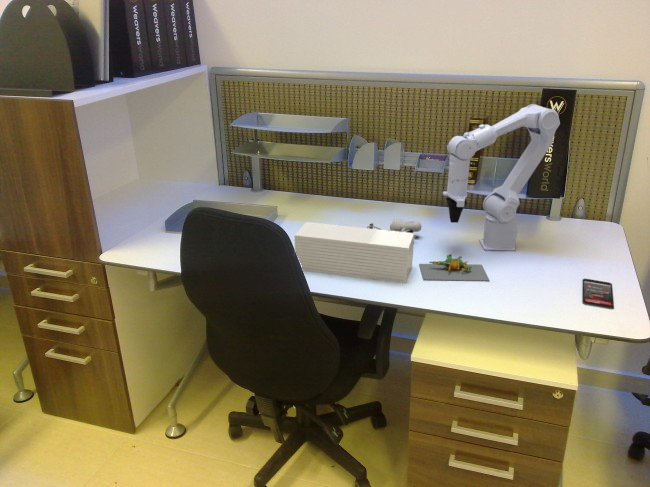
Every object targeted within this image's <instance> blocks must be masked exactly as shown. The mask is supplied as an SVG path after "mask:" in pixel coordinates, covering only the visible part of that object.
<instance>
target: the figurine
mask: <svg viewBox="0 0 650 487" xmlns="http://www.w3.org/2000/svg"><path fill="white" fill-rule="evenodd" d="M452 256H453V255H452V253H449V255H448V254H447V256H446V259H445V260H443V261H441V260H438V261H435V260H434V261H429V263H428V264H437V265H444V266H446V267H443V268H447V269H448V272H450V271H451V269H456V270H458V269H460V268H462V269H461V270H462V271H464V270H468V271H469V270H470V269H471V268H472V266H468V267H467V264H468V263H469V261H463V260H462V258H463V257H462V255H461V256H460V255H459V256H458V257H457V258H454V257H452Z"/></svg>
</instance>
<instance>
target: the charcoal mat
mask: <svg viewBox="0 0 650 487" xmlns="http://www.w3.org/2000/svg"><path fill="white" fill-rule="evenodd" d="M466 264H467V267H468V266H472V268H471V269H470V270H469V271H468V270H464V271H462V270H461V269H462V268H460V269H458V270H456V269H451V271H450V272H448V269H447V268H443V267H446V266H444V265H437V264H433V263H419V269H420V273H421V276H422V280H423V281H433V282H434V281H437V282H438V281H441V282H442V281H443V282H444V281H445V282H446V281H448V282H449V281H450V282H451V281H452V282H490V280H491V279H490V278H489V276H488V274H487V272H486V271H485V268H484V266H483V264H476V263H475V264H474V263H473V264H470V263H469V264H468V263H466Z"/></svg>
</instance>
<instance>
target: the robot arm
mask: <svg viewBox="0 0 650 487" xmlns="http://www.w3.org/2000/svg"><path fill="white" fill-rule="evenodd" d="M559 117H560V116H559V113H558V112H557V110H555V109H552V108H548V107H543V106H542V105H538V104H536V103H531V104H528V105H527V106H524V107H522V108H520V110H518V111H517V112H515V113H513V114H511V115H510V116H508V117H506V118H503V119H502V120H501V121H499V122H497V123H495V124H493V125H489V124H479V125H478V128H476V129H473V130H471V131H469V132H467V131H466V132H464V133H463V136H462V135H456V136H453V137H452V138H451V139H450V140H449V143H448V144H447V145H446V149H447V152H448V153H449V162H448V163H449V164H448V176H447V186H446V187H447V188H446V191H445V190H444V191H442V195H443V196H445V202H446V203H447V207H448V213H449V220H450V223H457V224H458V223H459V221H460V218H461V214H462V212H463V210H464V209H465V207H466V206H467V200H466V199H467V197H468V184H469V177H470V176H469V172H470V163H471V159H472V157H474V155H475V154H476V152H477V151H479V150H482V149H484V148H486V147H489V146H490V145H493V144H494V143H495V142H496V140H497V138H498V137H500V136H502V135H505V134H507V133H509V132H512V131H515V130H517V129H519V128H522V127H523V128H526V129H527V130H528V132H529V135H530V139H531V140H530V142H529V143H528V145H527V146H526V148H525V150H524V151H523V152H522V154H521V156H520V158H519V159H518V160H517V161H516V163H515V165H514V167H513V168H512V170H511V171H510V173H509V174H508V176H507V177H506V179H505V181H504V182H503V184H502V185H500V186H498V187H496V188H494V189H493V191H492V192H491V193H490V194H489V195H486V197H485V198H484V200H483V202H482V208H483V211H484V212H485V221H484V222H485V223H484V228H483V229H484V230H483V238H479V242H480V244H481V246H482V248H483V250H484V251H516V243H517V235H518V223H517V222H518V221H517V219H516V218H515V216H516V213H517V210H518V208H519V206H520V204H521V203H520V199H519V194H520V193H521V192H522V190H523V189H524V187H525V186H526V184H527V182H528V181H529V180H530V178H531V176H532V175H533V173H534V172H535V170H536V169H537V167H538V166H539V164H540V163H541V161H542V160H543V158H544V156H546V153H547V152H548V151H549V149H550V147H551V146H552V145H553V141H554V138H555V134H556V131H557V129H558V128H559V126H560V125H561V122H560V118H559Z"/></svg>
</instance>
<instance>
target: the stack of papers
mask: <svg viewBox="0 0 650 487" xmlns="http://www.w3.org/2000/svg"><path fill="white" fill-rule="evenodd" d="M414 235H415V232H413V233H407V232H398V231H389V230H387V229H382V230H379V229H376V228H373V229H369V227H368V228H367V227H360V226H359V227H358V226H348V225H338V224H331V223H330V224H329V223H322V222H312V221H311V222H308V221H306V222H304V224H303V225H302V226H301V227H300V229H299V230H298V231H297V232H296V233H295V234H294V252H295V251H296V254H297V256H298V258H299V261H300V263H301V265H302V269H303V270H302V271H309V272H316V273H322V274H323V273H324V274H330V275H331V274H332V275H339V276H346V277H355V278H361V279H362V278H363V279H371V280H377V281H378V280H379V281H386V282H395V283H402V284H407V283H408V280H409V277H410V275H411V271H412V268H413V263H414V262H413V258H414V246H415V244H414V243H415V242H414V241H415V237H414Z"/></svg>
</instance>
